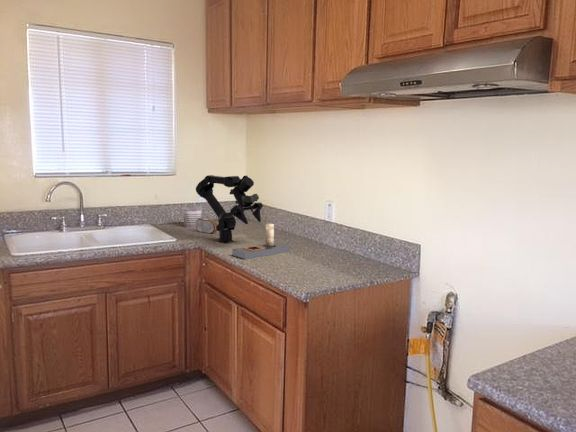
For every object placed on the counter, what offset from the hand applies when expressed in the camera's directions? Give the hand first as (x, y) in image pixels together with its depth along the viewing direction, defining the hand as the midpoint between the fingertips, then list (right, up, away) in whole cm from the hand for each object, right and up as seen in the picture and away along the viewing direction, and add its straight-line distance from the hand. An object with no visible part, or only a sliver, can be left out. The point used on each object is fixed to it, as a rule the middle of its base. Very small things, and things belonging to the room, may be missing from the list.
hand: (253, 222), depth 247 cm
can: (-43, -3, +59) cm, 73 cm away
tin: (-31, -7, +40) cm, 51 cm away
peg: (+8, -14, -5) cm, 17 cm away
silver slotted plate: (+4, -15, -9) cm, 18 cm away
